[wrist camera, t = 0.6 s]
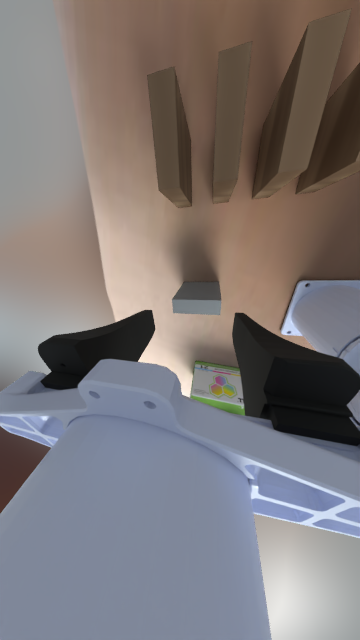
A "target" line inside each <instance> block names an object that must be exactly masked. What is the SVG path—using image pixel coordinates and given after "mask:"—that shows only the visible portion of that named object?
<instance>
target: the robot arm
mask: <svg viewBox="0 0 360 640" xmlns="http://www.w3.org/2000/svg"><path fill="white" fill-rule="evenodd" d="M307 283H309V284H308V286H305V285H306V284H307ZM154 331H155V324H154V319H153V313H152V310H144V311H141V312H139V313H136V314H134V315H132V316H130V317H128V318H125V319H123V320H121V321H118V322H116V323H113V324H110V325H107V326H103V327H100V328H96V329H92V330H87V331H82V332H76V333H69V334H61V335H55V336H52V337H51V338H49V339H47V340H46V341H44V342H42V343H41V344H40V345H39V346H38V352H39V355H40V356H41V358H42V359H43V360H44V362H45V363H46V365H47V366H48V367H49V369H50V370H51V371H52V372H51V373H49V374H48V375H46V374H44V373H40V372H34V371H29V372H27V373H26V374H25V375H23V376H22V377H20V378H19V379H18V380H16V381H15V382H13V383H12V384H11V385H9V386H8V387H6V388H5V389H4V390H2V391H1V392H0V426H1V427H2V428H4V429H6V430H7V431H8V432H10V433H13V434H16V435H20V436H22V437H25V438H28V439H31V440H33V441H36V442H39V443H41V444H44V445H46V446H49V447H51V449H50V451H49V452H48V453H47V455H46V456H45V457H44V458H43V460H42V461H41V462H40V463H39V465H38V466H37V467H36V469H35V470H34V471H33V473H32V474H31V475H30V476H29V478H28V479H27V480H26V482H25V483H24V484H23V485H22V487H21V488H20V489H19V491H18V492H17V493H16V494H15V496H14V497H13V498H12V500H11V501H10V502H9V504H8V505H7V506H6V507H5V509H4V510H3V511H2V512H1V514H0V640H271V633H270V626H269V619H268V612H267V605H266V598H265V591H264V584H263V577H262V570H261V563H260V556H259V549H258V542H257V535H256V528H255V522H254V514H258V515H263V516H267V517H272V518H276V519H280V520H285V521H289V522H293V523H298V524H302V525H306V526H311V527H315V528H319V529H324V530H328V531H333V532H337V533H341V534H345V535H350V536H354V537H358V538H360V280H303V281H300V282H298V284H297V286H296V289H295V291H294V294H293V297H292V300H291V303H290V305H289V308H288V311H287V314H286V317H285V320H284V322H283V325H282V328H281V331H280V332H281V333H282V334H283V335H296V336H304V337H305V339H306V340H307V341H308V342H309V343H310V344H311V345H312V346H313V347H314V348H315V349H316V351H314V350H311V349H308V348H305V347H302V346H300V345H297V344H295V343H292V342H290V341H288V340H285V339H283V338H281V337H279V336H277V335H275V334H273V333H271V332H270V331H268V330H266V329H265V328H263V327H262V326H260V325H259V324H258V323H256V322H255V321H253V320H252V319H251V318H250V317H248V316H247V315H246V314H244V313H235V318H234V325H233V332H232V336H233V345H234V349H235V353H236V357H237V361H238V364H239V369H240V375H241V383H242V391H243V400H244V410H245V416H244V415H238V414H233V413H229V412H226V411H223V410H221V409H218V408H216V407H213V406H210V405H208V404H205V403H202V402H200V401H197V400H194V399H192V398H189V397H186V396H184V395H182V392H181V384H180V381H179V379H178V377H177V375H176V374H175V373H173V372H172V371H171V370H170V369H168V368H167V367H164V366H160V365H157V364H150V363H141V362H138V360H139V358H140V357H141V355H142V353H143V352H144V350H145V348H146V347H147V345H148V343H149V342H150V340H151V338H152V336H153V334H154ZM288 331H290V332H288ZM253 513H254V514H253Z"/></svg>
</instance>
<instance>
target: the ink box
mask: <svg viewBox="0 0 360 640" xmlns="http://www.w3.org/2000/svg"><path fill="white" fill-rule="evenodd" d="M190 398H192V399H194V400H197V401H200V402H202V403H205V404H208V405H210V406H213V407H216V408H218V409H221V410H223V411H226V412H229V413H233V414H238V415H244V416H245V410H244V400H243V391H242V383H241V375H240V369H239V368H235V367H229V366H223V365H218V364H212V363H206V362H200V361H196V362H195V367H194V374H193V380H192V387H191V394H190Z"/></svg>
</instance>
